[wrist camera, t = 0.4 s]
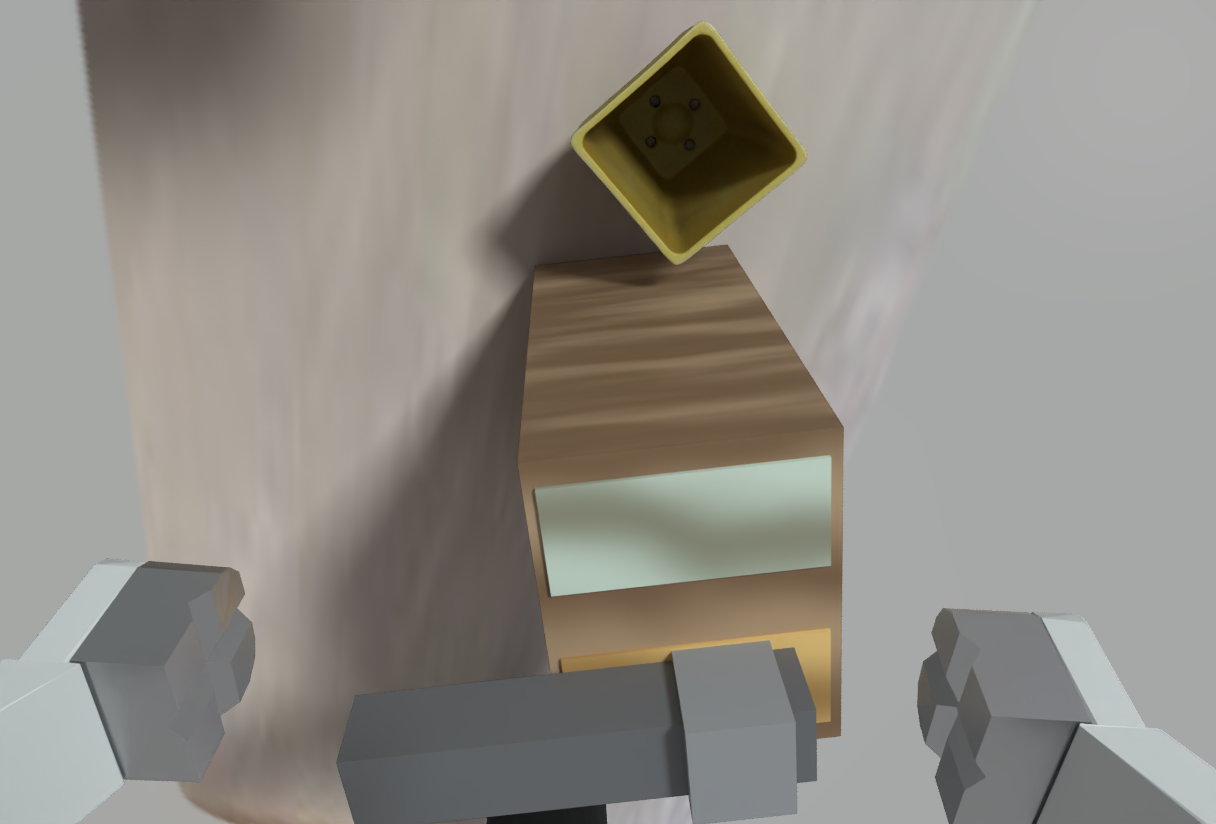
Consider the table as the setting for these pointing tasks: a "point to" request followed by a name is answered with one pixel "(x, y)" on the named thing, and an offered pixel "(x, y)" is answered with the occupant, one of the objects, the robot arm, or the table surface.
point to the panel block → (678, 471)
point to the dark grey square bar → (589, 741)
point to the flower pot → (668, 172)
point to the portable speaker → (556, 816)
